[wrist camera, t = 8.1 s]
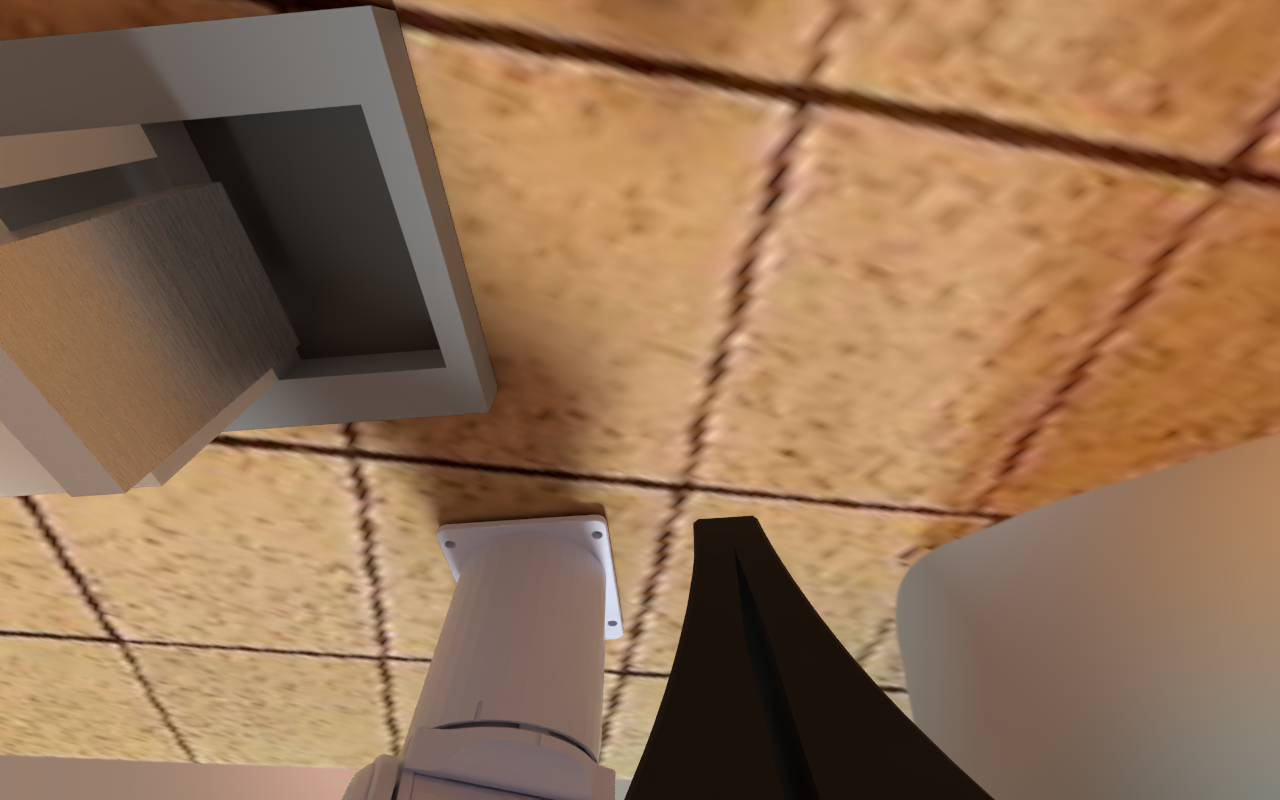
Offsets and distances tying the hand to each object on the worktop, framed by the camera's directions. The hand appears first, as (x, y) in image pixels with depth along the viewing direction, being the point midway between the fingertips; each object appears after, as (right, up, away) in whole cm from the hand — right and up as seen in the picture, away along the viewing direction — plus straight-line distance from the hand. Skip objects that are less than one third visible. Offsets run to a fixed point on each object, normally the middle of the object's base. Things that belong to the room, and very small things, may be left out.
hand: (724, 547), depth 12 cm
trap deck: (-19, +8, +6) cm, 22 cm away
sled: (-21, +7, +4) cm, 23 cm away
